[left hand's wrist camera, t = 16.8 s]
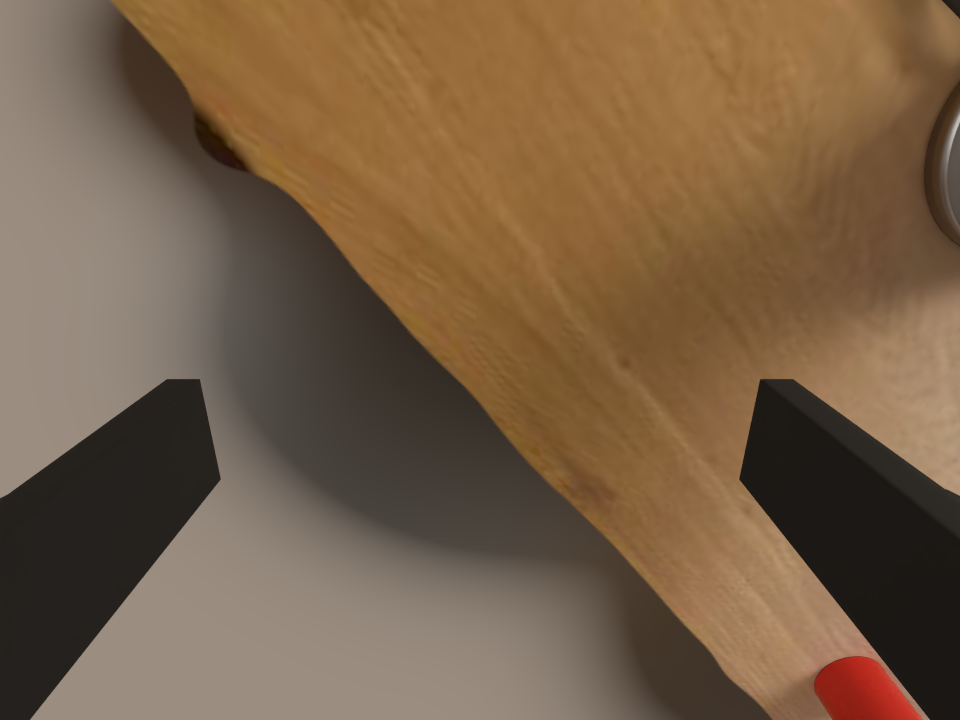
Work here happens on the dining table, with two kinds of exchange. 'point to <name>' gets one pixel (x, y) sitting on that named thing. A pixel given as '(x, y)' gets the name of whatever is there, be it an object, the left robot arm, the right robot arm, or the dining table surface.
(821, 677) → the cylinder
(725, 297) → the dining table surface
